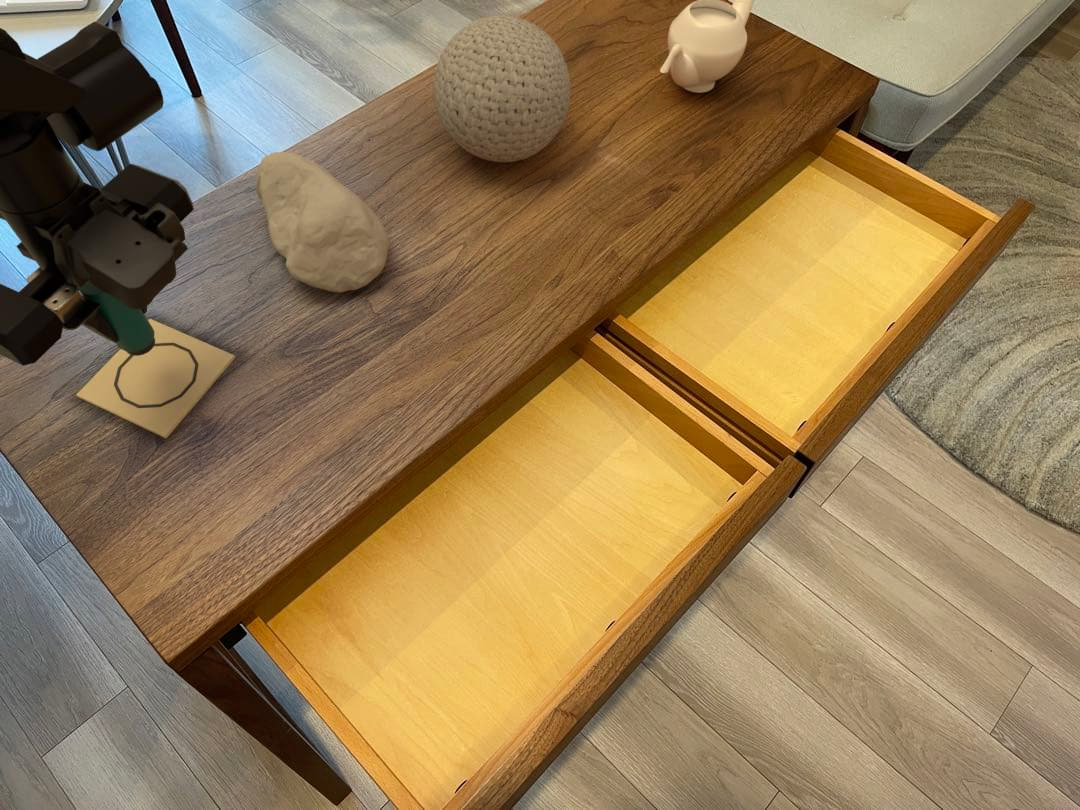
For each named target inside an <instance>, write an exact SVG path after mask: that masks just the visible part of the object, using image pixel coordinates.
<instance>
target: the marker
mask: <svg viewBox="0 0 1080 810" xmlns="http://www.w3.org/2000/svg"><path fill="white" fill-rule="evenodd" d="M77 288H78V289H79V292H80V294H81V295H82V296H84V297H86V298H89V299H91V300H93V301H95V302H98V303H100V304H101V306H100V307H99V308H98V309H97V310H98V311H99V312H100V314H101V315H102V316H103V317H104V318H105V320H106V321H107V322H108V323H109V325H110V326H111V327H112V328H113V329H114V331H115V333H116V335H117V337H118V339H119V341H118V342H117V343H115V344H116V346H117V347H118V348H119V350H120V349H122V350H124V351H126V352H127V353H128V354H130V355H134V356H139V355H143V354H146V353H148V352H149V351H150V350H151V349H152V348H153V347H154V345H155V338H154V335H155V333H154V329H153V328H152V326H151V324H150V323H149V321H148V320H149V319H148V318H147V316H146V314H144V313H143V311H142V310H141V309H138V310H136V309H131V308H128V307H127V306H125V305H123V304H122V303H121V302H120V301H119V300H117V299H116V298H114V297H112V296H111V295H109V294H107V293H106V292H104V291H103V290H101V289H99V288H98V287H96V286H95V285H93V284H92V283H91V282H90V281H88V282H87V283H85V284H84V285H83V286H82V287H78V286H77Z"/></svg>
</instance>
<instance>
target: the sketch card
mask: <svg viewBox="0 0 1080 810" xmlns="http://www.w3.org/2000/svg"><path fill="white" fill-rule="evenodd" d="M147 320H148V321H149V323H150V324H151V326H152V328H153V329H154V333H155V335H154V338H155V345H154V347H153V348H152V349H151V350H150V351H149V352H148V353H146V354H143V355H139V356H134V355H130V354H128V353H127V352H126V351H124V350H122V349H120V348H119V350H118V351H117V352H116V353H115V354H114V355H113V356H112V357H111V358H110V359H109V360H108V361H107V362H106V363H105V364H104V365H103V366H102V367H101V368H100V369H99V370H98V371H97V372H96V373H95V374H94V375H93V377H92V378H91V379H90V380H89V381H88V382H87V383H86V384H85V385H84V386H83V387H82V388H81V389H80V390H79V391H78V392H77V393H76V398H78V399H81V400H83V401H85V402H87V403H89V404H91V405H93V406H95V407H97V408H100V409H101V410H104V411H106V412H108V413H109V414H110V413H111V414H113V415H114V416H117V417H119V418H121V419H123V420H125V421H127V422H130V423H132V424H134V425H136V426H138V427H140V428H142V429H144V430H147V431H149V432H150V433H153V434H155V435H157V436H160V437H161V438H163V439H167V438H168V437H169V436H170V435H171V434H172V432H174V430H175V429H176V428H177V426H178V425H179V424H180V423H181V422H183V419H184V418H185V417H186V416H187V415H188V414H189V413H190V412H191V410H192V409H193V408H194V407H195V406H196V405H197V403H198V402H199V401H200V400H201V399H202V397H204V395H205V394H206V393H207V392H208V391H209V390H210V388H211V387H212V386H213V385H214V384H215V382H216V381H217V380H219V378H220V376H221V375H222V374H223V373H224V372H225V371H226V370H227V368H228V367H229V366H230V365H231V364H232V363H233V362H234V360H235V359H236V355H234V354H233V353H230V352H228V351H225V350H223V349H221V348H219V347H216V346H214V345H212V344H210V343H207V342H205V341H202V340H200V339H198V338H196V337H193V336H191V335H189V334H186V333H184V332H182V331H179V330H177V329H175V328H172V327H170V326H168V325H166V324H164V323H161V322H159V321H157V320H155V319H152V318H149V319H147Z"/></svg>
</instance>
